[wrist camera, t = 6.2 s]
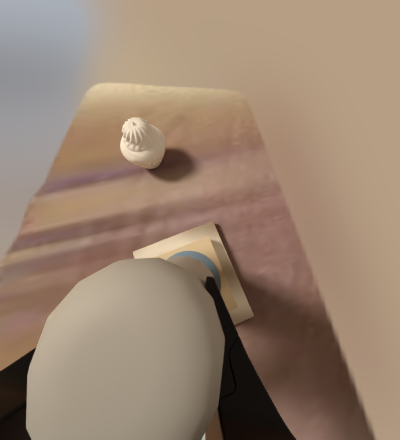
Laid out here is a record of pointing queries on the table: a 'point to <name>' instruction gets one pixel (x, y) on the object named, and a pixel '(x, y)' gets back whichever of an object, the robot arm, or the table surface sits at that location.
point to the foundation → (211, 256)
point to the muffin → (142, 143)
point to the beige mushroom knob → (129, 356)
